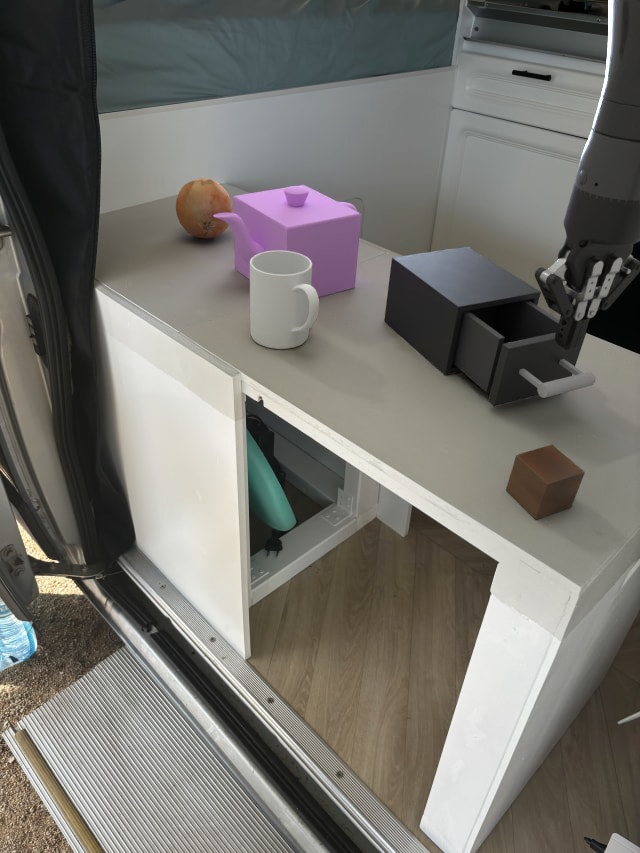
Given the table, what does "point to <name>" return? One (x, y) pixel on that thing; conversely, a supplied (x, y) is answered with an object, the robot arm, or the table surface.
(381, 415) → the table surface
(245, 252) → the teapot
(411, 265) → the cabinet
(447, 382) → the table surface
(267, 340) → the mug
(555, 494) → the block
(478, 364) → the drawer
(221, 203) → the onion
